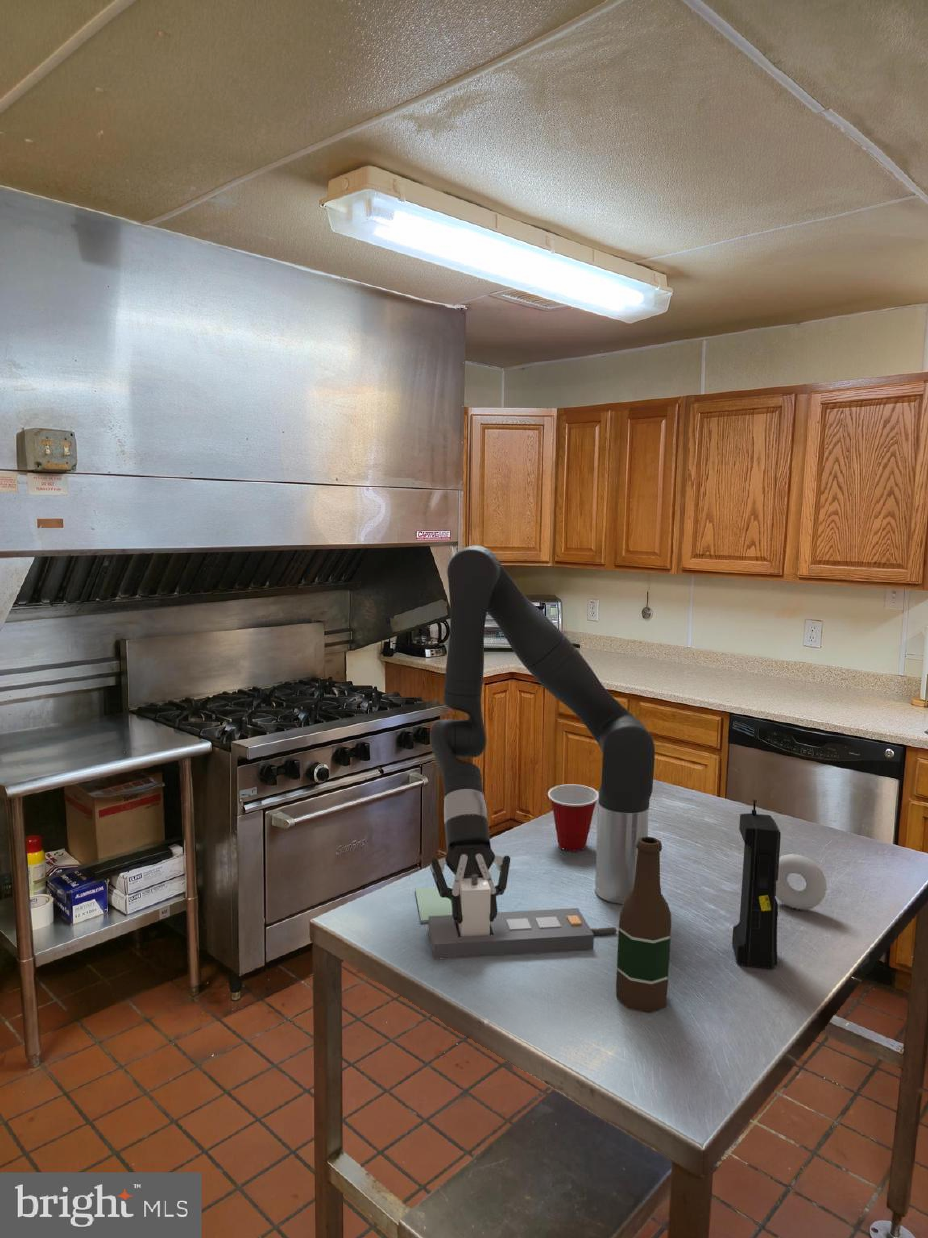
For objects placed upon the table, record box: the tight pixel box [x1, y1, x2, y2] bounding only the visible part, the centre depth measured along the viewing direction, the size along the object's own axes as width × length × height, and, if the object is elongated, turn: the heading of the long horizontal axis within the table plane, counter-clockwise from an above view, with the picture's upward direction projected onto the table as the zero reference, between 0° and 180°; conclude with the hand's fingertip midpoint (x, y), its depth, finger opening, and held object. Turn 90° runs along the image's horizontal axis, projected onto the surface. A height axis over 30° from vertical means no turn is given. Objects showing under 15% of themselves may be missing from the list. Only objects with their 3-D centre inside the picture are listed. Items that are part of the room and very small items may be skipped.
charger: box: [458, 874, 491, 937], centre depth 129 cm, size 5×4×12 cm
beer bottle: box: [615, 836, 672, 1013], centre depth 114 cm, size 8×8×24 cm
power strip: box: [427, 907, 618, 960], centre depth 131 cm, size 32×9×3 cm, turn 98°
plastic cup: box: [547, 783, 599, 852], centre depth 168 cm, size 11×11×12 cm
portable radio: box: [731, 799, 782, 970], centre depth 125 cm, size 8×6×25 cm
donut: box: [775, 853, 828, 911], centre depth 143 cm, size 10×4×10 cm, turn 54°
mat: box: [414, 886, 453, 924], centre depth 142 cm, size 12×12×1 cm
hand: (475, 920), depth 127 cm, fingers closed on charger, 4 cm apart
